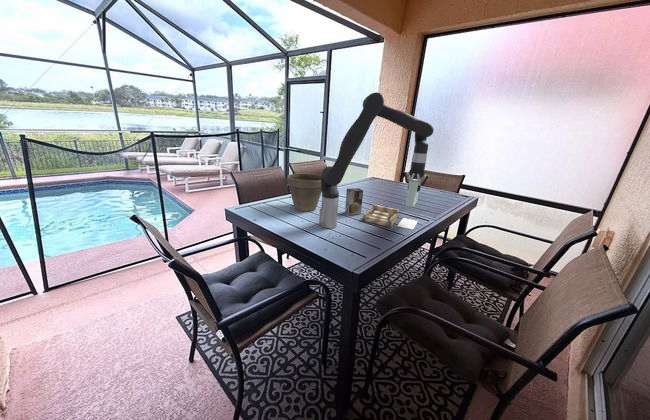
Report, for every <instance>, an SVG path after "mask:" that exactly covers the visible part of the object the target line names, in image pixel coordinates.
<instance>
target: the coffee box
mask: <svg viewBox="0 0 650 420" xmlns="http://www.w3.org/2000/svg"><path fill="white" fill-rule="evenodd" d="M363 197H364V190H363V189H362V188H360V187H354V188H346V195H345V207H344V212H345V213H346V214H347V215H348V216H353V215H354V216H355V215H361V214H362V207H363Z"/></svg>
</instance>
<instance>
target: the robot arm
mask: <svg viewBox="0 0 650 420" xmlns="http://www.w3.org/2000/svg"><path fill="white" fill-rule="evenodd" d="M384 98H385V97H384V95H383V94H382V93H380V92H377V91H376V92H372V93H370V94H369V95H367V96H366V97H365V98H364V99H363V101H362V109H361V112H360V114H359V116H358V117H357V119H355V121H354V122H353V123H352V125H351V126H350V127H349V129H348V130H347V132H346V133H345V135H344V136H343V139H342V141H341V142H340V147H339V151H338V155H337V158H336V160H335V162H334V164H333V165H332V166H330V165H329V166H326V167H324V169H323V170H322V172H321V191H322V192H321V205H320V206H321V208H320V209H319V215H318V216H319V218H318V219H319V222H318V225H319V226H321V227H322V228H325V229H334V228H336V227H337V226H338V225H337V224H338V213H339V211H338V210H339V197H340V192H339V189H338V185H339V184H340V183H341V182H342V180H343V179H344V177H345V174H346V171H347V170H348V167H349V165H350V163H351V162H352V160H353V159H354V156H355V155H356V152H357V151H358V149H359V148H360V147H361V145H362V142H363V141H364V139H365V137H366V136H367V133H368V131H369V129H370V127H371V126H372V123H373V122H374V120H375V119H376V117H380V118H381V119H385V120H386V121H389V122H390V123H393V124H396V125H397V126H399V127H401V128H403V129H405V130H407V131H410V132H412V133H414V148H413V154H412V157H411V162H410V167H409V168H410V169H409V171H405V172H404V173H403V175H404V182H405V183H407V184H408V186H407V190H408V189H409V183H410V181H411V180H413V179H416V180H418V181H419V182H418V188H417V192H418V193H420V191H421V188H422V186H424V185H425V184H426V182H427V180H428V179H429V177H430V176H429V174H425V168H426V164H427V157H428V155H427V154H428V150H429V143H428V141H427V139H428V138H429V137H431V136H432V135H433V134H434V130H435V129H434V127H433V125H432V124H430V123H429V122H427V121H424V120H422V119H418V118H416V117H415V116H413V115H412V114H410V113H407V112H405V111H402V110H400V109H395V108H392V107H390V106H388V105H386V104H385V99H384ZM408 176H410V179H409V177H408ZM422 178H424V179H423V181H422Z"/></svg>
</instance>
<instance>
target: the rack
mask: <svg viewBox="0 0 650 420" xmlns="http://www.w3.org/2000/svg"><path fill="white" fill-rule="evenodd" d="M371 207H372V208H370V209H369V210H367V211H366V212H365V213H364V214H363V219H362V221H364V222H369V223H372V224H377V225H381V226H384V227H388V228H392V226H393V225H394V224H395V222H397V220H398V218H399V213H400V209H398V208H394V207H388V206H387V207H386V206H383V205H378V204H374V203H373V204H372V205H371ZM374 211H380V212H384V213H388V214H389V218H388V221H387V220H383V219H379V218H374V217H371V215H372V214H373V212H374Z"/></svg>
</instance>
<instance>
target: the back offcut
mask: <svg viewBox="0 0 650 420" xmlns="http://www.w3.org/2000/svg"><path fill="white" fill-rule="evenodd" d="M373 214H377V215H381V216H385V217H387V221H389V219H390V218H389V214H388V213H384V212H380V211H374V212H373Z"/></svg>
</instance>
